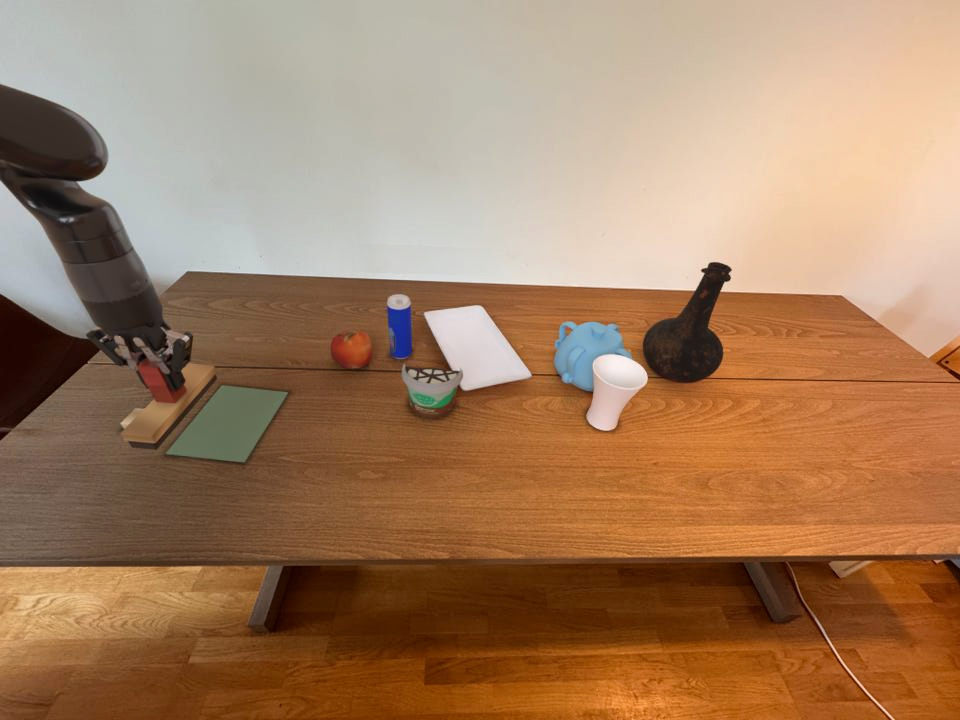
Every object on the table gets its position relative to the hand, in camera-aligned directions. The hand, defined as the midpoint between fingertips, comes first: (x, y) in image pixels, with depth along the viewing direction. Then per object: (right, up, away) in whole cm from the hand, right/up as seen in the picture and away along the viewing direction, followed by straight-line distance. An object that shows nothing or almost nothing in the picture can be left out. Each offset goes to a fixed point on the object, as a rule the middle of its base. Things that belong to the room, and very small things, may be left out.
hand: (166, 386), depth 64 cm
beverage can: (+29, +5, +37) cm, 47 cm away
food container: (+37, -7, +23) cm, 45 cm away
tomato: (+18, +3, +33) cm, 38 cm away
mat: (0, -8, +17) cm, 19 cm away
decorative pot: (+73, 0, +37) cm, 81 cm away
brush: (0, -4, +3) cm, 5 cm away
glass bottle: (+95, +1, +41) cm, 104 cm away
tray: (+46, +6, +40) cm, 61 cm away
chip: (-16, -8, +15) cm, 23 cm away
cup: (+73, -9, +25) cm, 78 cm away
